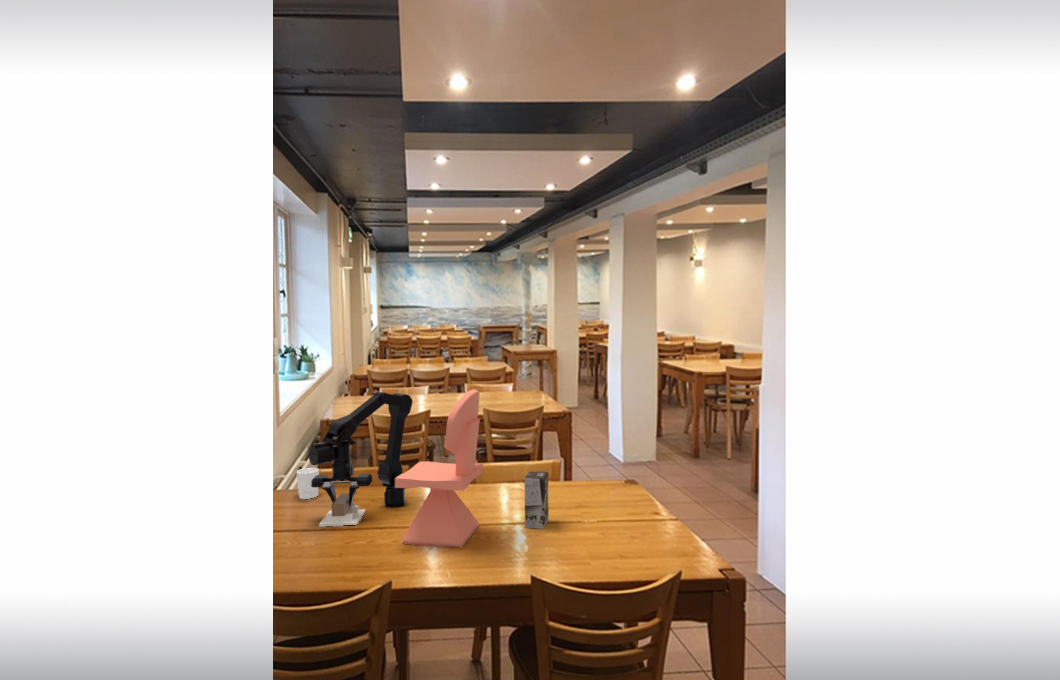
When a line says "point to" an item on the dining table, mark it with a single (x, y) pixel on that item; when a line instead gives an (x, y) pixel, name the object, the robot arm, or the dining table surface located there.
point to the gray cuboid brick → (341, 505)
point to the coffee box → (536, 500)
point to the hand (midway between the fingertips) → (342, 505)
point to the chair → (447, 482)
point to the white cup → (307, 483)
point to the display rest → (343, 518)
